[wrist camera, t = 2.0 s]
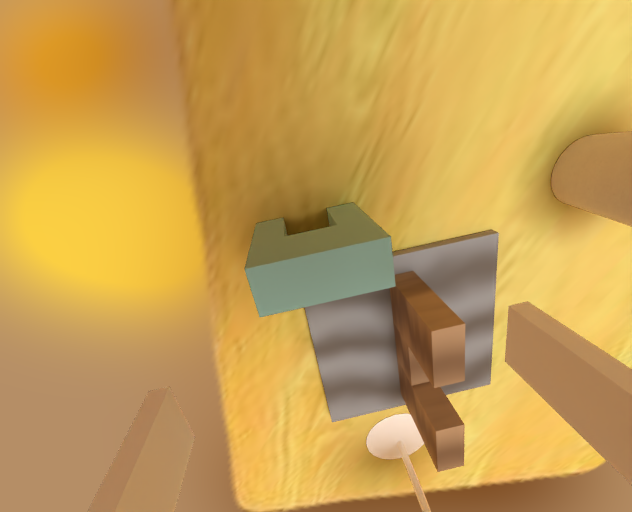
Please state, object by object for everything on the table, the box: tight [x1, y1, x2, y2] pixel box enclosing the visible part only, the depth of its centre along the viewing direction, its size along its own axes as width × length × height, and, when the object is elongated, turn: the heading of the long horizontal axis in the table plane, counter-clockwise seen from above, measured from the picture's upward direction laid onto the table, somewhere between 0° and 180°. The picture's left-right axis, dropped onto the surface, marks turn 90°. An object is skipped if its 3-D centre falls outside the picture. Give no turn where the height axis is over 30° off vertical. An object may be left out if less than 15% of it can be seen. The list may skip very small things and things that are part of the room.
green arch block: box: [245, 203, 396, 317], centre depth 23 cm, size 4×9×10 cm, turn 101°
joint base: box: [305, 230, 499, 472], centre depth 29 cm, size 20×20×10 cm
